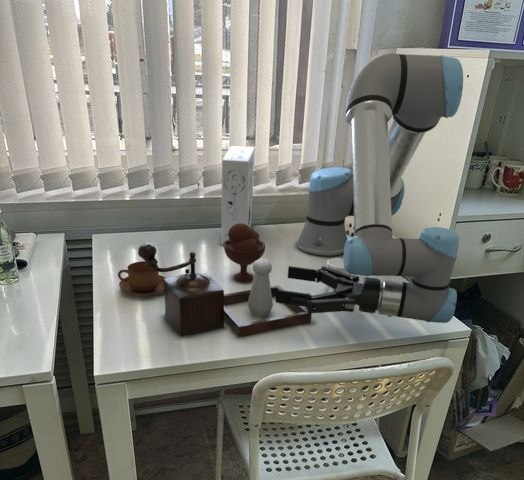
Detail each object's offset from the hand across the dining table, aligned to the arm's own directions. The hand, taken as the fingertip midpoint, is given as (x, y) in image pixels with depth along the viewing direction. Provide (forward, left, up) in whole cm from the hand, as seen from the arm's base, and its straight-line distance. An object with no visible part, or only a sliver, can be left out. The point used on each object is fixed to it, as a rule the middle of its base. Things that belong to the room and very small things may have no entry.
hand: (282, 283), depth 115 cm
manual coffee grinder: (+22, -5, -9) cm, 24 cm away
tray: (+4, -3, -9) cm, 10 cm away
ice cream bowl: (-1, -23, -9) cm, 25 cm away
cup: (-20, -8, -9) cm, 24 cm away
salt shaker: (+4, -3, -9) cm, 10 cm away
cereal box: (-14, -56, -9) cm, 59 cm away
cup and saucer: (+25, -25, -9) cm, 36 cm away
